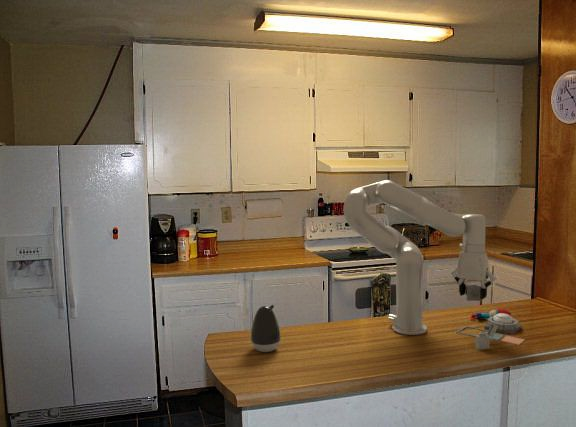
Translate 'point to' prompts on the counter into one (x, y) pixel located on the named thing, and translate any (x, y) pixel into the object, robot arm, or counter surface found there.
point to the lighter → (485, 338)
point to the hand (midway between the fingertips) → (472, 296)
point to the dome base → (504, 326)
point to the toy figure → (489, 314)
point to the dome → (503, 318)
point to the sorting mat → (498, 337)
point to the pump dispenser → (265, 330)
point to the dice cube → (473, 292)
